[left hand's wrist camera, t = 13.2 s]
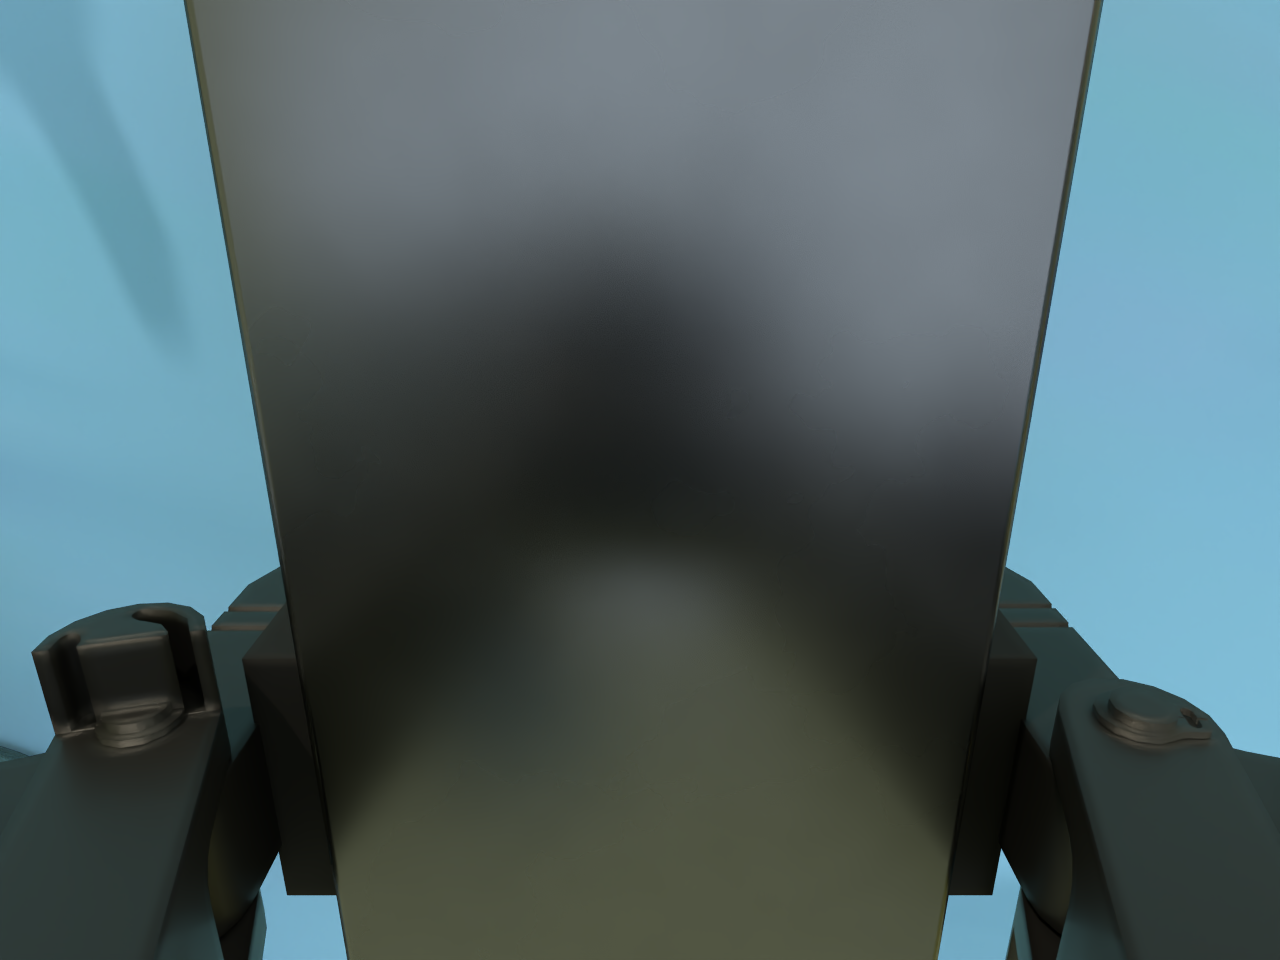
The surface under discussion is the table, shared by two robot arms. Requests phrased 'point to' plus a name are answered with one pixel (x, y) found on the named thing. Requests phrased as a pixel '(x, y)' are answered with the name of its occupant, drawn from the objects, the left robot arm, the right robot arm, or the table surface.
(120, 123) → the table surface
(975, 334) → the bar
